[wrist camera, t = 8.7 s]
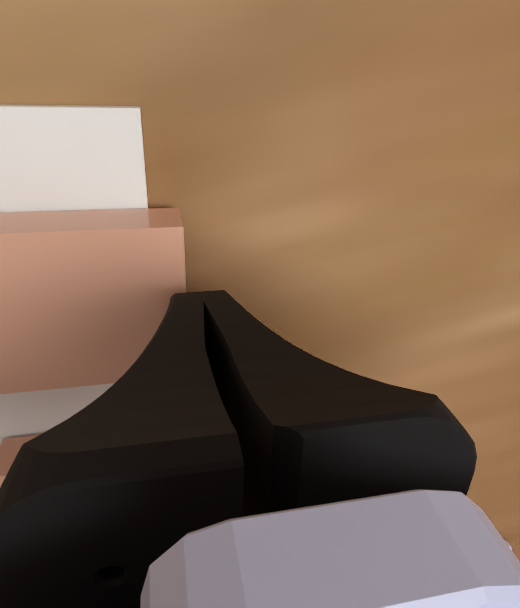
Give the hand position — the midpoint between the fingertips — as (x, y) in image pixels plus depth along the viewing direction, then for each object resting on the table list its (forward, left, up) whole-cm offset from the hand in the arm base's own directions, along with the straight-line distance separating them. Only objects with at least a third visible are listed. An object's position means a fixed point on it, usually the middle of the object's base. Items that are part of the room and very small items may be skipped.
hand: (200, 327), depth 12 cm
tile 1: (0, 0, -2) cm, 2 cm away
